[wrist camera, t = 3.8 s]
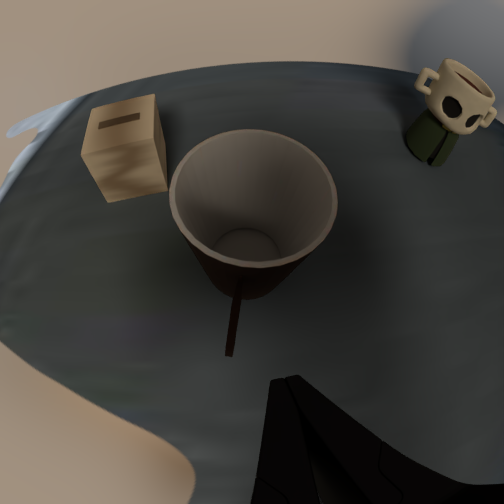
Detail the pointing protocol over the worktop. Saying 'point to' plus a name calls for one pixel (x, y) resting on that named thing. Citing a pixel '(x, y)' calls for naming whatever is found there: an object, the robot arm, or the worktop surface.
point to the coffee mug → (251, 210)
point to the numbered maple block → (126, 149)
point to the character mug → (449, 110)
